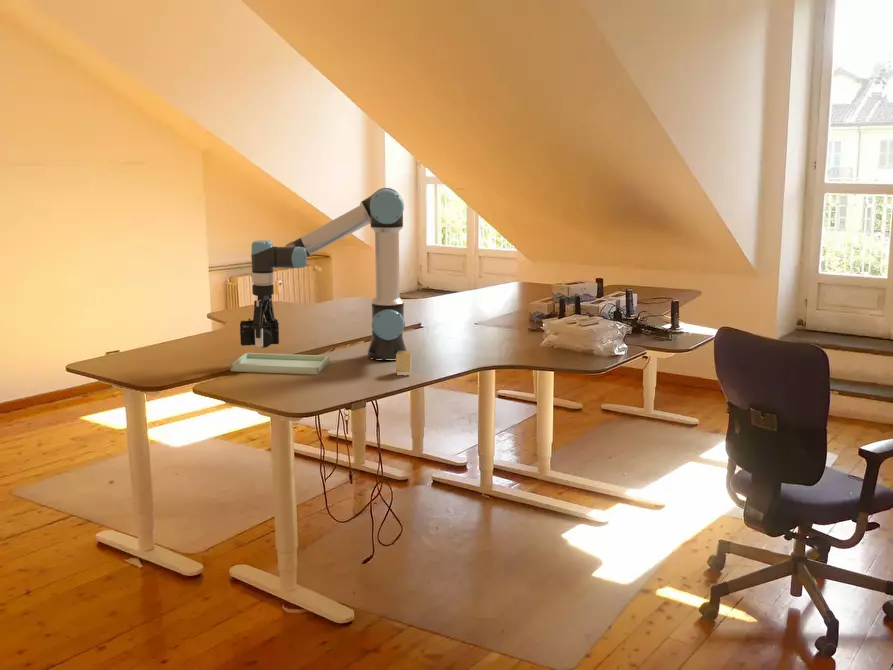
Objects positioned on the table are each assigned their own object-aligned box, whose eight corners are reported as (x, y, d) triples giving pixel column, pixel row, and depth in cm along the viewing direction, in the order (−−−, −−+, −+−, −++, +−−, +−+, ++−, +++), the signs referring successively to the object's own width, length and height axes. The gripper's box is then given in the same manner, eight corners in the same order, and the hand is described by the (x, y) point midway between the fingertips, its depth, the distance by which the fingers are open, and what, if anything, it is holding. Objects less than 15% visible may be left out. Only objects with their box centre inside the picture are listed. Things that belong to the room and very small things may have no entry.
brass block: (398, 372, 318) (398, 350, 316) (411, 372, 318) (411, 351, 316) (396, 375, 313) (396, 353, 312) (410, 376, 313) (410, 354, 311)
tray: (246, 359, 334) (246, 352, 333) (329, 362, 331) (329, 355, 330) (230, 371, 316) (230, 364, 315) (318, 374, 313) (318, 367, 313)
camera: (240, 350, 315) (239, 322, 313) (240, 343, 326) (239, 317, 323) (280, 348, 319) (279, 321, 317) (278, 342, 329) (278, 316, 327)
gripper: (262, 278, 329) (263, 335, 334) (242, 288, 306) (243, 349, 311) (282, 279, 329) (283, 336, 333) (263, 289, 305) (264, 350, 310)
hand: (264, 342), depth 322 cm, fingers closed on camera, 12 cm apart
